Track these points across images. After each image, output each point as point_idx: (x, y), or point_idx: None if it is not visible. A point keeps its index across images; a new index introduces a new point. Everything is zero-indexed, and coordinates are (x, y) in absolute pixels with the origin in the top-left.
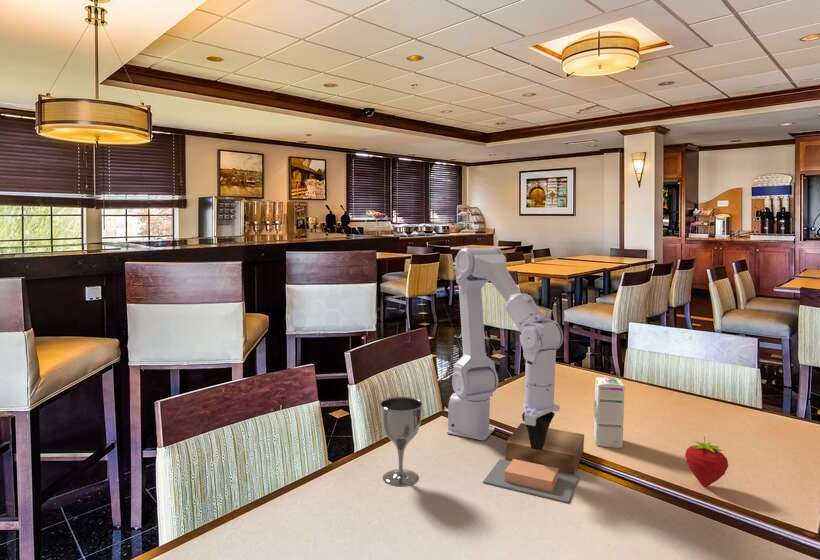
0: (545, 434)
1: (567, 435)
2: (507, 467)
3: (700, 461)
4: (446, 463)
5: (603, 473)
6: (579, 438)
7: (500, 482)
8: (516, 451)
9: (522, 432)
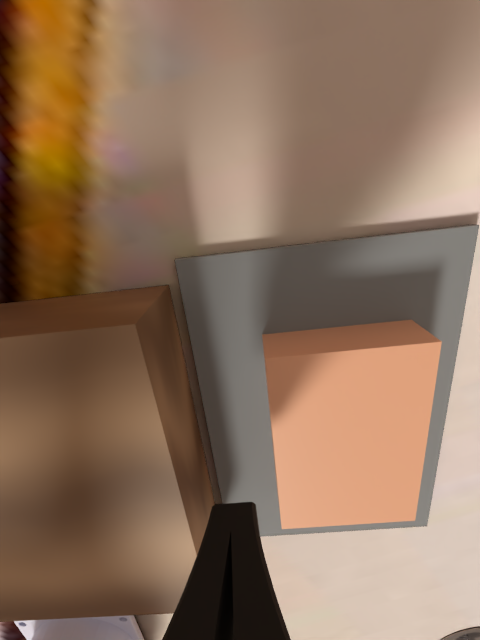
0: (247, 631)
1: None
2: (374, 522)
3: None
4: (342, 616)
5: (35, 150)
6: None
7: None
8: None
9: (54, 596)
